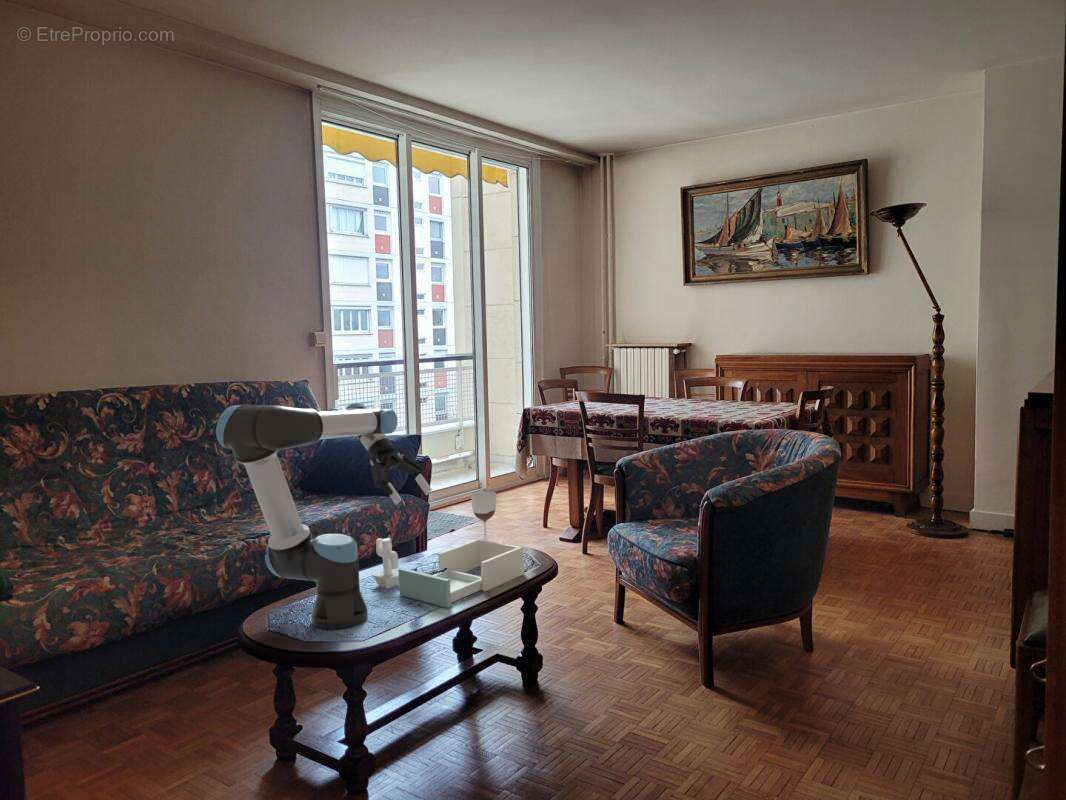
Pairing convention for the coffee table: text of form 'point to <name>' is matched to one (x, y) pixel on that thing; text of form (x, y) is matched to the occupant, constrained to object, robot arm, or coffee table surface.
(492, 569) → the cubby
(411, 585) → the tray
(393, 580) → the figurine
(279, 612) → the coffee table surface
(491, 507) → the wineglass
